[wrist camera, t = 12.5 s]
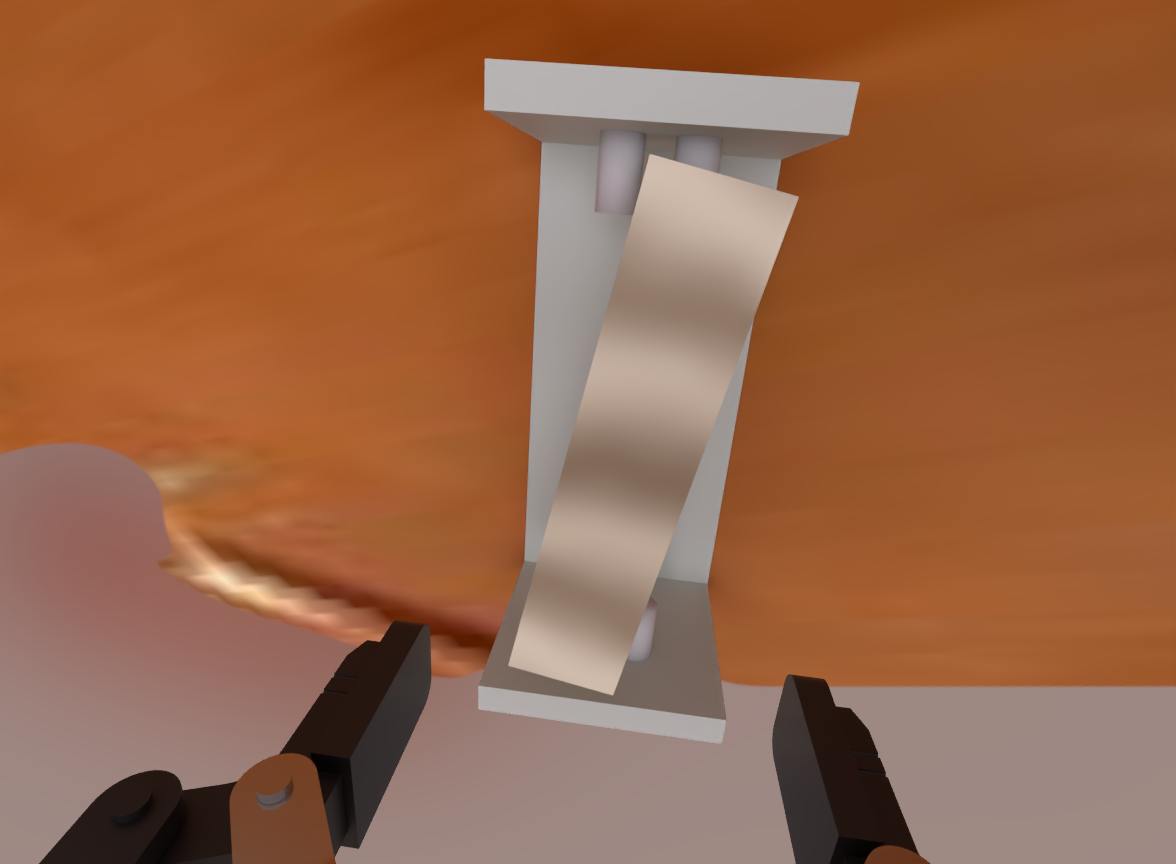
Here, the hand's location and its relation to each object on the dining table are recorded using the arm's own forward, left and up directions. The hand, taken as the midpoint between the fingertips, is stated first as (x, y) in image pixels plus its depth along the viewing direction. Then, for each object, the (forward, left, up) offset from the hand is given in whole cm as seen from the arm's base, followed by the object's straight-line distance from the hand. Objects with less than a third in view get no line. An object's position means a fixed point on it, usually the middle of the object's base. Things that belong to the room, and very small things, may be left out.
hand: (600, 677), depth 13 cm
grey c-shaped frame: (0, 0, -24) cm, 24 cm away
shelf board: (0, 0, -15) cm, 15 cm away
